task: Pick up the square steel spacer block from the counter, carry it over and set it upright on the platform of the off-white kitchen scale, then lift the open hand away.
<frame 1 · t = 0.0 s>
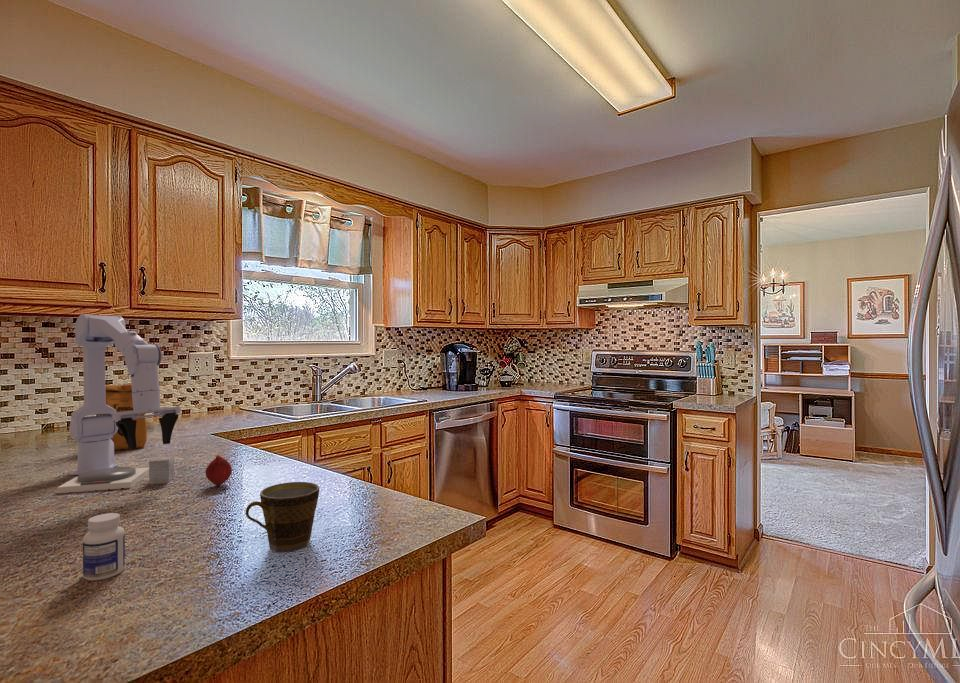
hand: (150, 446, 122), 11 cm above the countertop, tool pointing down, fingers open, 7 cm apart
steel spacer: (161, 481, 129), on the countertop
vinegar: (130, 435, 192), on the countertop
pill bottle: (104, 574, 78), on the countertop
kitchen scale: (107, 482, 127), on the countertop
coffee package: (124, 449, 168), on the countertop
ceramic cup: (282, 548, 87), on the countertop
onion: (218, 486, 125), on the countertop
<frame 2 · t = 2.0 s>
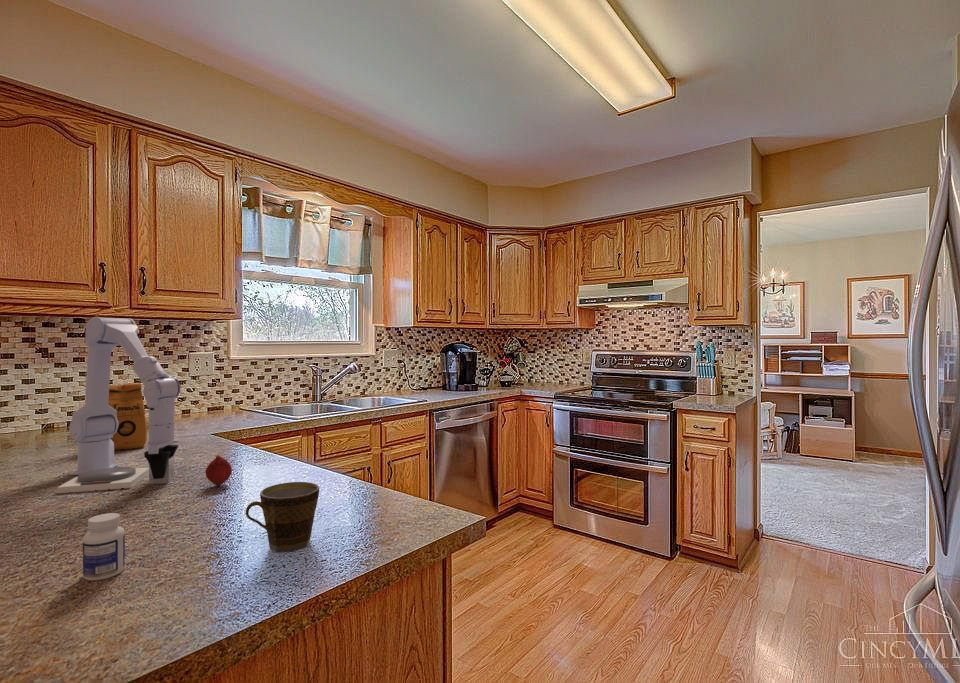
hand: (161, 475, 129), 1 cm above the countertop, tool pointing down, fingers closed on steel spacer, 4 cm apart
steel spacer: (161, 481, 129), on the countertop, touching gripper
everything else where it was.
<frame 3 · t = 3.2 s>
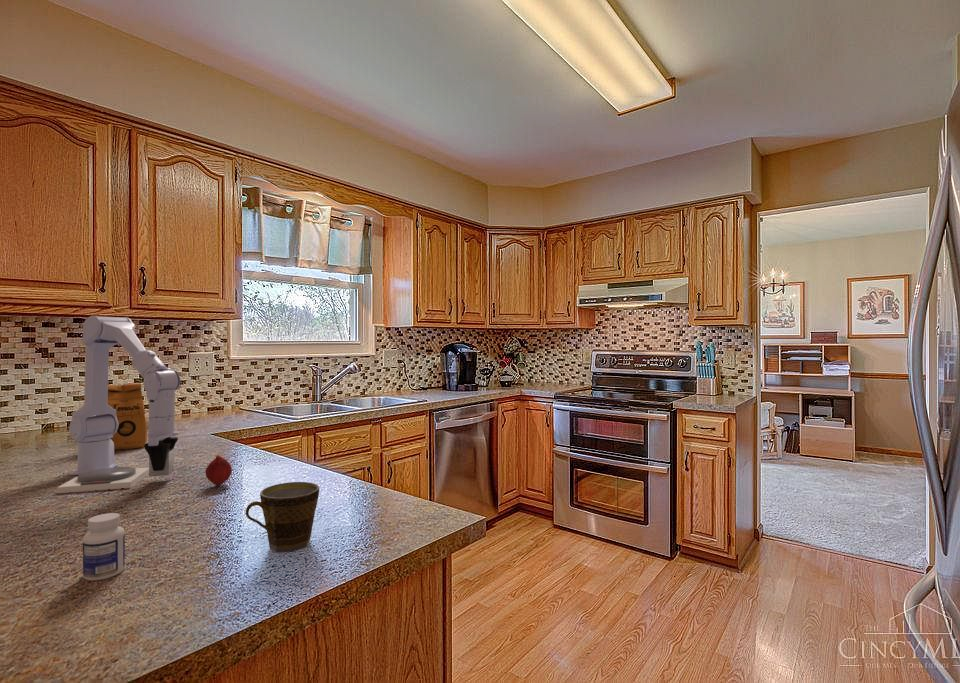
hand: (161, 468, 129), 3 cm above the countertop, tool pointing down, fingers closed on steel spacer, 4 cm apart
steel spacer: (161, 473, 129), point 2 cm above the countertop, touching gripper
everything else where it was.
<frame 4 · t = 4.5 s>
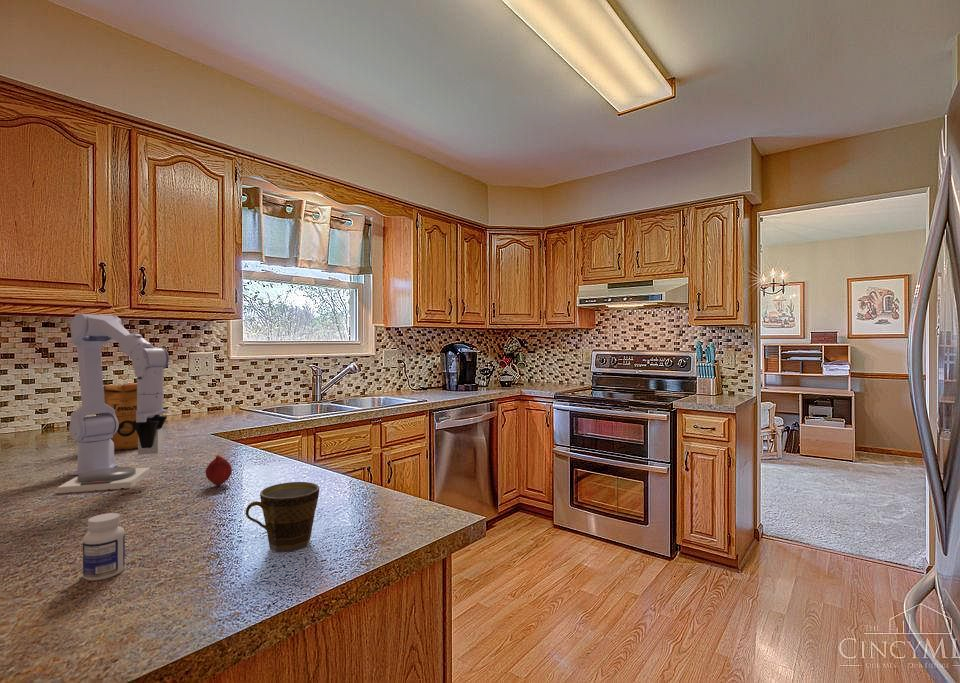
hand: (149, 445, 128), 9 cm above the countertop, tool pointing down, fingers closed on steel spacer, 4 cm apart
steel spacer: (150, 452, 128), point 8 cm above the countertop, touching gripper
everything else where it was.
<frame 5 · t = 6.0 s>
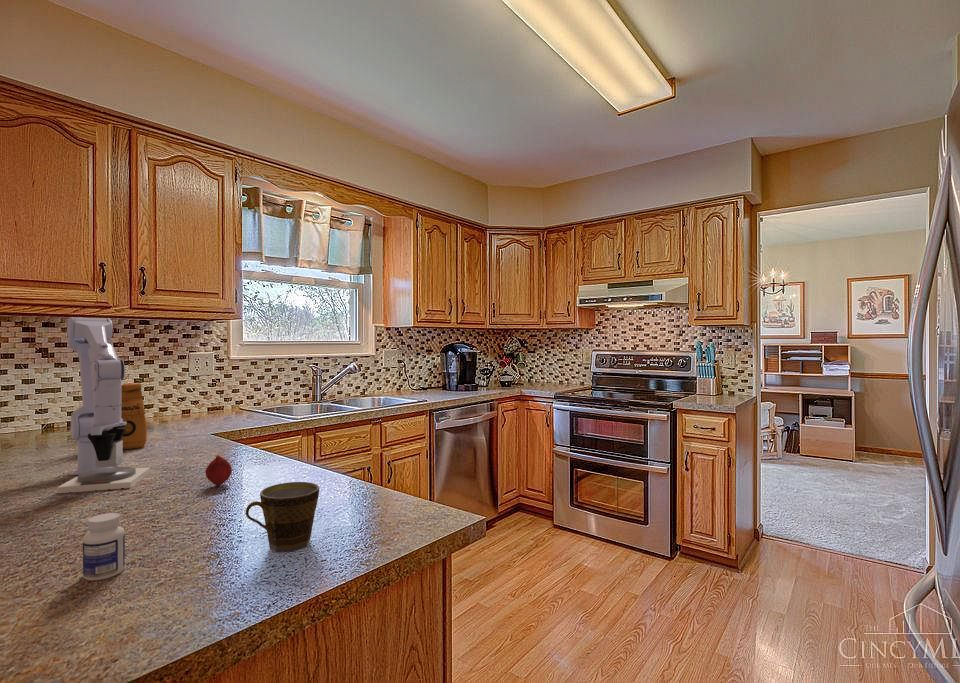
hand: (107, 458, 127), 6 cm above the countertop, tool pointing down, fingers closed on steel spacer, 4 cm apart
steel spacer: (109, 465, 128), point 4 cm above the countertop, touching gripper
everything else where it was.
when the fingers open (5 cm above the countertop, at t = 7.0 s): steel spacer drops 1 cm, resting on kitchen scale.
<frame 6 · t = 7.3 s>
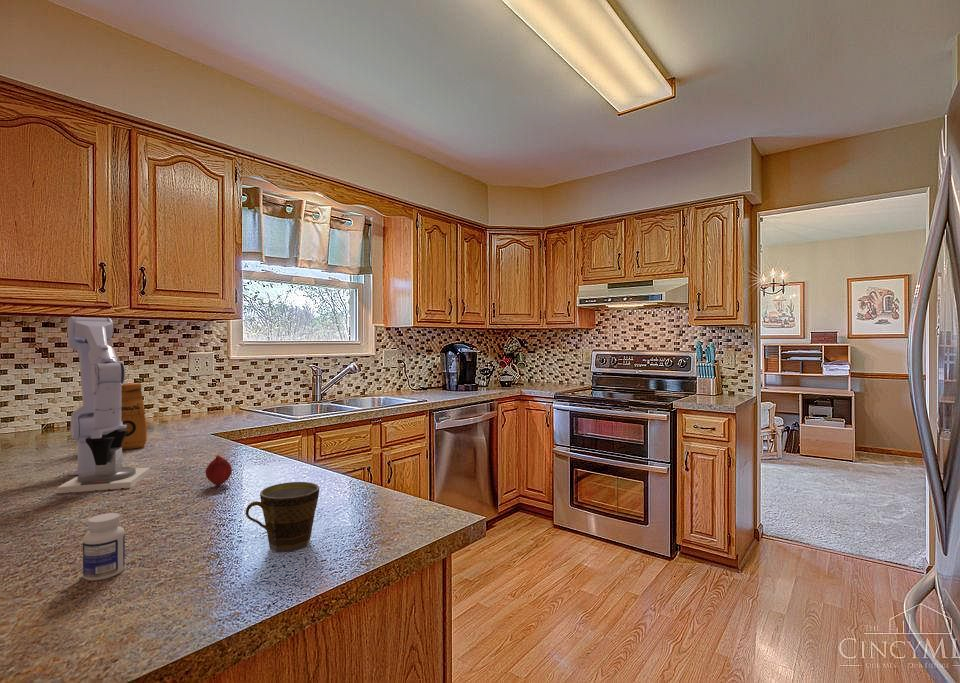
hand: (107, 461, 127), 5 cm above the countertop, tool pointing down, fingers open, 7 cm apart
steel spacer: (108, 472, 127), point 2 cm above the countertop, touching kitchen scale
everything else where it was.
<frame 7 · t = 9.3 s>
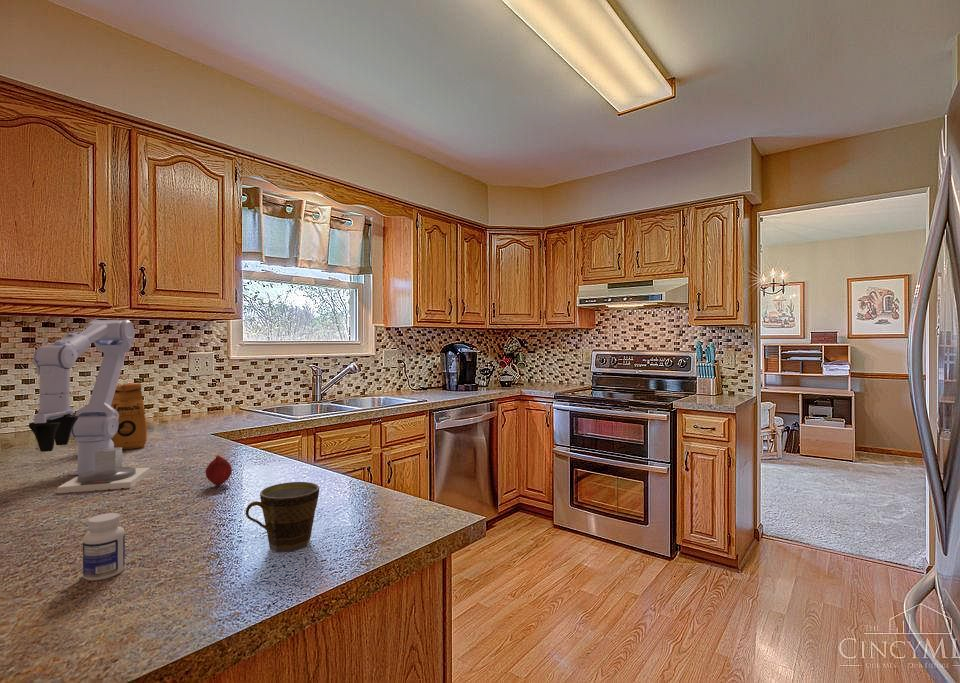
hand: (54, 448, 122), 10 cm above the countertop, tool pointing down, fingers open, 7 cm apart
nothing on the countertop moved.
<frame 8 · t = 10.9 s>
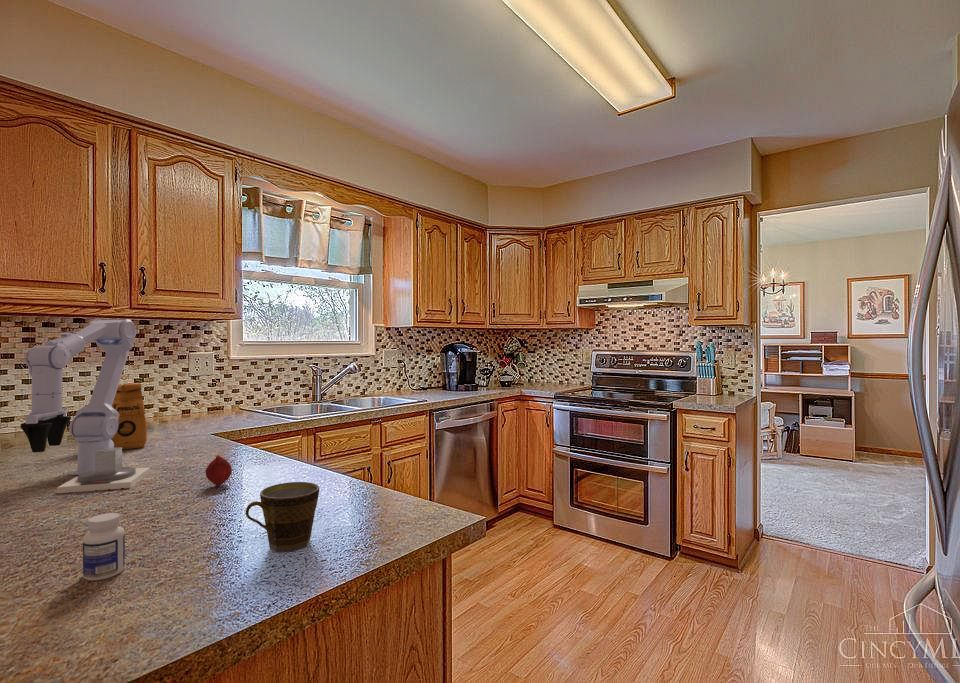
hand: (46, 448, 122), 10 cm above the countertop, tool pointing down, fingers open, 7 cm apart
nothing on the countertop moved.
at the end: steel spacer inside the target area on the kitchen scale (0.3 cm from its centre), point 2.5 cm above the kitchen scale's base; steel spacer tilted 0°; the gripper is holding nothing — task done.
